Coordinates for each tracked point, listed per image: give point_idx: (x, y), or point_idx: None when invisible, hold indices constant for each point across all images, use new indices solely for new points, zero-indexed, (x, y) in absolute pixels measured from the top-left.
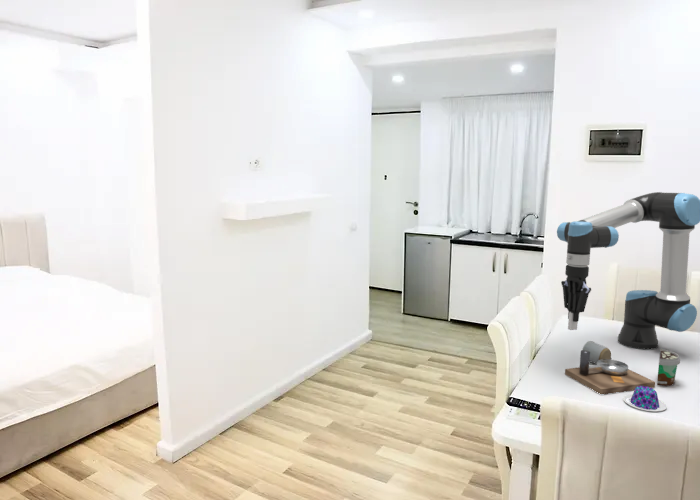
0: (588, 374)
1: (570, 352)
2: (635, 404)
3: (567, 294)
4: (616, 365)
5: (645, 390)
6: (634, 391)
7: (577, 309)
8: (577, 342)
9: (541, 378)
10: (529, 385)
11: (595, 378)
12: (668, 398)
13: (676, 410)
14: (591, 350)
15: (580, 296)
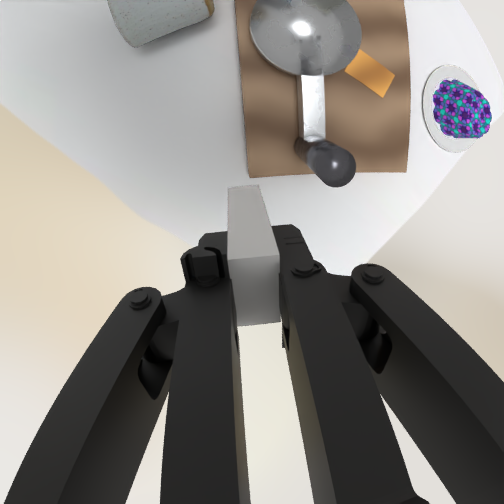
0: None
1: (67, 57)
2: (456, 137)
3: (115, 474)
4: (323, 21)
5: (477, 116)
6: (463, 132)
7: (365, 346)
8: (9, 15)
9: None
10: None
11: (346, 132)
12: (446, 32)
13: (483, 78)
14: (166, 22)
15: (452, 474)
